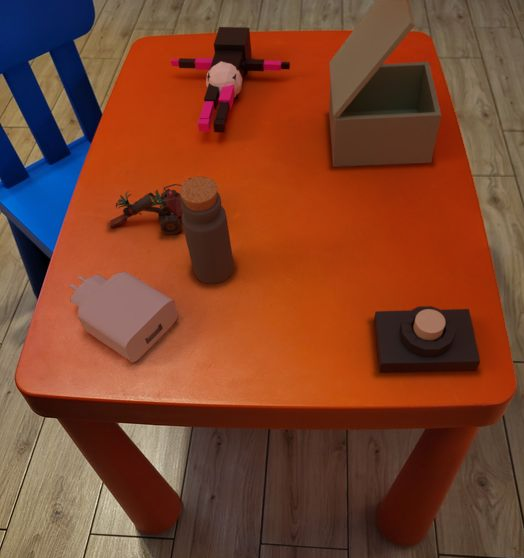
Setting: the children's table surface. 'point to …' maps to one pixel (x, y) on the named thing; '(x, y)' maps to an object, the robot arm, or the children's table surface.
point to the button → (429, 324)
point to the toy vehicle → (154, 209)
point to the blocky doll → (226, 73)
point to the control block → (425, 343)
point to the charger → (123, 312)
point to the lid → (368, 49)
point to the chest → (388, 119)
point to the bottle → (206, 230)
